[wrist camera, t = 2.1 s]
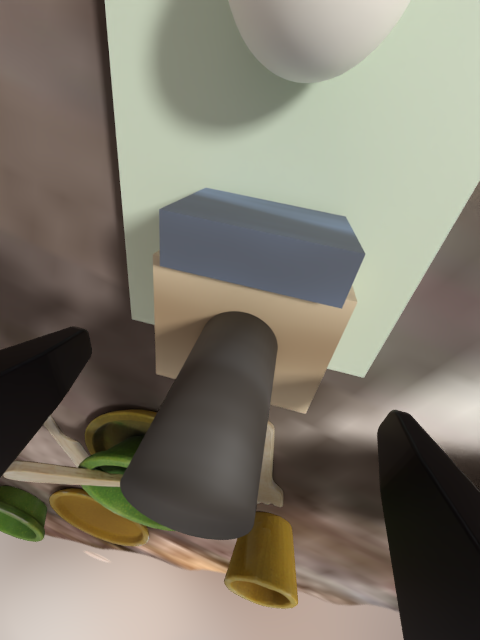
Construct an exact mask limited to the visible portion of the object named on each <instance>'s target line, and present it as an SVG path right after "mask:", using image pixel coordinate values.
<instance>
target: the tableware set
mask: <svg viewBox="0 0 480 640" xmlns="http://www.w3.org/2000/svg"><path fill="white" fill-rule="evenodd" d="M156 414H157V412H152V411H147V410H136V409H134V410H120V411H113V412H109V413H106V414H103V415H100V416H99V417H97V418H95V419H94V420H93V421H91V422H90V424H89V425H88V426H87V428H86V431H85V443H86V446H87V448H88V450H89V452H90V454H91V456H89V455H88V454H87V452H86V451H85V450H84V448H83V447H82V446H81V444H80V443H79V442H78V441H76V440H74V439H71V438H69V437H67V436H66V435H64V434H63V433H62V432H61V430H60V429H59V427H58V426H57V424H56V423H55V421H54V420H53V418H52V417H51V415H50V416H49V418H48V419H47V420H46V421H45V423H44V426H45V427H46V428H47V429H48V431H49V432H50V433H51V435H52V436H53V437H54V438H55V440H56V441H57V442H58V443H59V445H60V446H61V447H62V449H63V450H64V451H65V452H66V454H67V455H68V456H69V457H70V459H71V460H72V461H73V462H74V464H75V465H76V466H77V467H78V468H75V467H67V466H60V465H53V464H45V463H38V462H30V461H13V463H12V464H11V465H10V466H9V468H8V469H7V470H6V471H5V473H4V474H3V476H4V477H5V478H7V479H11V480H17V481H26V482H38V483H55V484H70V485H81V486H82V487H83V489H84V490H83V489H75V488H70V489H64V490H60V491H57V492H55V493H53V494H52V495H51V496H50V498H49V502H50V505H51V507H52V508H53V510H54V511H55V512H56V513H57V514H58V515H59V516H60V517H61V518H63V519H64V520H65V521H67V522H68V523H70V524H71V525H73V526H74V527H76V528H78V529H80V530H81V531H83V532H86V533H88V534H90V535H92V536H94V537H97V538H99V539H102V540H105V541H108V542H111V543H115V544H119V545H124V546H141V545H144V544H146V543H147V542H148V540H149V532H148V529H147V526H148V527H152V528H157V529H161V530H168V531H175V530H172V529H170V528H167V527H165V526H163V525H161V524H159V523H157V522H155V521H153V520H151V519H150V518H148V517H146V516H145V515H143V514H142V513H140V512H139V511H138V510H136V509H135V508H134V507H133V506H132V505H131V504H130V503H129V502H128V501H127V500H126V498H125V497H124V495H123V494H122V492H121V489H120V480H121V478H122V476H123V474H124V473H125V471H126V469H127V467H128V465H129V463H130V462H131V460H132V458H133V456H134V454H135V453H136V451H137V449H138V447H139V445H140V443H141V442H142V440H143V438H144V436H145V434H146V432H147V431H148V429H149V427H150V425H151V423H152V421H153V420H154V418H155V416H156ZM273 451H274V426H273V425H272V424H271V423H270V422H269V421H268V424H267V432H266V439H265V447H264V454H263V461H262V469H261V476H260V483H259V491H258V498H257V503H258V504H259V503H260V502H263V503H264V504H267V505H269V504H270V503H272V504H273V505H274V506H278V507H282V506H283V491H282V489H281V488H280V487H279V486H278V485H276V484H275V483H274V481H273V479H272V469H273ZM21 452H22V451H21ZM46 513H47V507H46V505H45V504H44V503H43V502H42V501H41V500H39V499H38V498H37V497H35V496H33V495H32V494H30V493H28V492H26V491H23V490H21V489H18V488H15V487H12V486H1V487H0V531H1V532H3V533H6V534H8V535H11V536H13V537H16V538H20V539H23V540H27V541H35V542H36V541H41V540H42V539H43V538H44V535H45V530H44V524H45V519H46ZM224 583H225V585H226V587H227V588H228V589H229V590H230V591H232V592H233V593H235V594H236V595H238V596H240V597H242V598H244V599H247V600H249V601H251V602H254V603H256V604H259V605H262V606H266V607H272V608H293V607H294V606H296V605H297V604H298V595H297V583H296V570H295V558H294V546H293V534H292V527H291V525H290V524H289V522H287V521H286V520H285V519H283V518H281V517H280V516H277V515H274V514H271V513H267V512H256V513H255V520H254V526H253V528H252V530H251V531H250V532H249V533H248V534H246V535H245V536H242V537H240V538H237V542H236V545H235V548H234V551H233V554H232V557H231V560H230V564H229V567H228V570H227V573H226V576H225V579H224Z"/></svg>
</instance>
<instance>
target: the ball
mask: <svg viewBox="0 0 480 640" xmlns="http://www.w3.org/2000/svg"><path fill="white" fill-rule="evenodd" d="M410 1H411V0H228V2H229V6H230V9H231V12H232V15H233V18H234V21H235V23H236V26H237V28H238V30H239V32H240V34H241V37H242V39H243V40H244V42H245V43H246V45H247V47H248V48H249V50H250V51H251V52H252V54H253V55H254V56H255V57H256V59H257V60H258V61H259V62H260V63H261V64H262V65H264V66H265V67H266V68H267V69H268V70H269V71H271V72H272V73H274V74H275V75H277V76H279V77H281V78H284V79H286V80H289V81H293V82H297V83H317V82H322V81H326V80H330V79H332V78H334V77H337V76H339V75H341V74H343V73H345V72H347V71H348V70H350V69H352V68H353V67H355V66H356V65H357V64H359V63H360V62H361V61H363V60H364V59H365V58H366V57H367V56H368V55H369V54H371V53H372V52H373V51H374V50H375V49H376V48H377V47H378V46H379V45H380V44H381V42H382V41H383V40H384V39H385V38H386V37H387V36H388V34H389V33H390V32H391V30H392V29H393V28H394V26H395V25H396V24H397V22H398V21H399V19H400V18H401V16H402V15H403V13H404V11H405V10H406V8H407V6H408V5H409V3H410Z"/></svg>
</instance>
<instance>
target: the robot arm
mask: <svg viewBox="0 0 480 640" xmlns="http://www.w3.org/2000/svg"><path fill="white" fill-rule="evenodd" d="M91 354H92V348H91V343H90V338H89V333H88V331H87V330H85V329H82V328H79V327H69V328H66V329H63V330H60V331H57V332H54V333H51V334H48V335H45V336H42V337H39V338H36V339H33V340H30V341H27V342H24V343H21V344H18V345H15V346H11V347H8V348H5V349H2V350H0V478H1V476H2V475H3V474H4V473H5V471H6V470H7V469H8V468H9V466H10V465H11V464H12V463H13V461H14V460H15V459H16V458H17V456H18V455H19V454H20V453H21V451H22V450H23V449H24V448H25V446H26V445H27V444H28V443H29V441H30V440H31V439H32V438H33V436H34V435H35V434H36V433H37V431H38V430H39V429H40V428H41V426H42V425H43V424H44V423H45V421H46V420H47V419H48V418H49V416H50V415H51V414H52V413H53V411H54V410H55V409H56V408H57V406H58V405H59V404H60V402H61V401H62V400H63V398H64V397H65V395H66V394H67V392H68V391H69V389H70V388H71V386H72V385H73V383H74V382H75V380H76V379H77V377H78V376H79V374H80V372H81V371H82V369H83V368H84V366H85V365H86V363H87V362H88V360H89V358H90V357H91ZM377 439H378V459H379V479H380V492H381V499H382V506H383V512H384V518H385V525H386V531H387V537H388V543H389V550H390V556H391V562H392V569H393V575H394V581H395V588H396V594H397V600H398V606H399V613H400V619H401V625H402V632H403V638H404V640H480V491H479V490H478V489H477V488H476V487H475V486H474V484H473V483H472V482H471V481H470V480H469V479H468V478H467V477H466V476H465V474H464V473H463V472H462V471H461V470H460V469H459V468H458V467H457V466H456V465H455V463H454V462H453V461H452V460H451V459H450V458H449V457H448V456H447V455H446V453H445V452H444V451H443V450H442V449H441V448H440V447H439V446H438V445H437V443H436V442H435V441H434V440H433V439H432V438H431V437H430V436H429V435H428V434H427V432H426V431H425V430H424V429H423V428H422V427H421V426H420V425H419V424H418V422H417V421H416V420H415V419H414V418H413V417H412V416H411V415H410V414H408V413H406V412H402V411H398V410H392V411H391V412H390V413H389V414H388V415H387V417H386V418H385V419H384V421H383V422H382V423H381V425H380V426H379V428H378V433H377Z"/></svg>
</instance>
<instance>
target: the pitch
mask: <svg viewBox="0 0 480 640" xmlns="http://www.w3.org/2000/svg"><path fill="white" fill-rule="evenodd" d="M105 11H106V22H107V34H108V46H109V57H110V69H111V81H112V93H113V104H114V116H115V128H116V139H117V151H118V163H119V174H120V186H121V198H122V210H123V221H124V233H125V245H126V256H127V268H128V280H129V291H130V303H131V315H132V319H133V320H137V321H141V322H145V323H149V324H153V325H155V319H154V284H153V254H154V253H156V252H157V251H158V250H160V237H159V209H161V208H163V207H165V206H167V205H169V204H171V203H174V202H176V201H178V200H180V199H182V198H184V197H187V196H189V195H191V194H193V193H195V192H197V191H199V190H202V189H204V188H211V189H215V190H220V191H225V192H230V193H235V194H240V195H244V196H249V197H254V198H259V199H264V200H268V201H273V202H278V203H283V204H288V205H293V206H297V207H302V208H307V209H312V210H317V211H321V212H326V213H331V214H336V215H341V216H345V217H346V218H347V220H348V222H349V224H350V225H351V227H352V229H353V231H354V233H355V235H356V237H357V239H358V241H359V242H360V244H361V246H362V248H363V250H364V252H365V257H364V259H363V261H362V264H361V266H360V268H359V270H358V273H357V275H356V277H355V280H354V282H353V284H352V286H353V289H354V292H355V295H356V299H357V304H356V307H355V309H354V311H353V313H352V315H351V317H350V319H349V322H348V324H347V326H346V328H345V330H344V332H343V335H342V337H341V339H340V341H339V343H338V345H337V347H336V350H335V352H334V354H333V356H332V358H331V360H330V362H329V365H328V367H327V369H331V370H335V371H339V372H343V373H347V374H351V375H355V376H359V377H363V378H364V376H365V375H366V373H367V371H368V370H369V368H370V366H371V364H372V363H373V361H374V359H375V358H376V356H377V354H378V353H379V351H380V349H381V347H382V346H383V344H384V342H385V341H386V339H387V337H388V336H389V334H390V332H391V330H392V329H393V327H394V325H395V324H396V322H397V320H398V319H399V317H400V315H401V313H402V312H403V310H404V308H405V307H406V305H407V303H408V301H409V300H410V298H411V296H412V295H413V293H414V291H415V290H416V288H417V286H418V284H419V283H420V281H421V279H422V278H423V276H424V274H425V273H426V271H427V269H428V267H429V266H430V264H431V262H432V261H433V259H434V257H435V256H436V254H437V252H438V250H439V249H440V247H441V245H442V244H443V242H444V240H445V239H446V237H447V235H448V233H449V232H450V230H451V228H452V227H453V225H454V223H455V221H456V220H457V218H458V216H459V215H460V213H461V211H462V210H463V208H464V206H465V204H466V203H467V201H468V199H469V198H470V196H471V194H472V193H473V191H474V189H475V187H476V186H477V184H478V182H479V181H480V0H411V1H410V3H409V5H408V6H407V8H406V10H405V11H404V13H403V15H402V16H401V18H400V19H399V21H398V22H397V24H396V25H395V26H394V28H393V29H392V30H391V32H390V33H389V34H388V36H387V37H386V38H385V39H384V40H383V41H382V42H381V44H380V45H379V46H378V47H377V48H376V49H375V50H374V51H373V52H372V53H371V54H369V55H368V56H367V57H366V58H365V59H364V60H363V61H361V62H360V63H359V64H357V65H356V66H355V67H353V68H352V69H350V70H348V71H347V72H345V73H343V74H341V75H339V76H337V77H334V78H332V79H330V80H326V81H322V82H317V83H297V82H293V81H289V80H286V79H284V78H281V77H279V76H277V75H275V74H274V73H272V72H271V71H269V70H268V69H267V68H266V67H265V66H264V65H262V64H261V63H260V62H259V61H258V60H257V59H256V57H255V56H254V55H253V54H252V52H251V51H250V50H249V48H248V47H247V45H246V43H245V42H244V40H243V39H242V37H241V34H240V32H239V30H238V28H237V26H236V23H235V21H234V18H233V15H232V12H231V9H230V6H229V2H228V0H105Z"/></svg>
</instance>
